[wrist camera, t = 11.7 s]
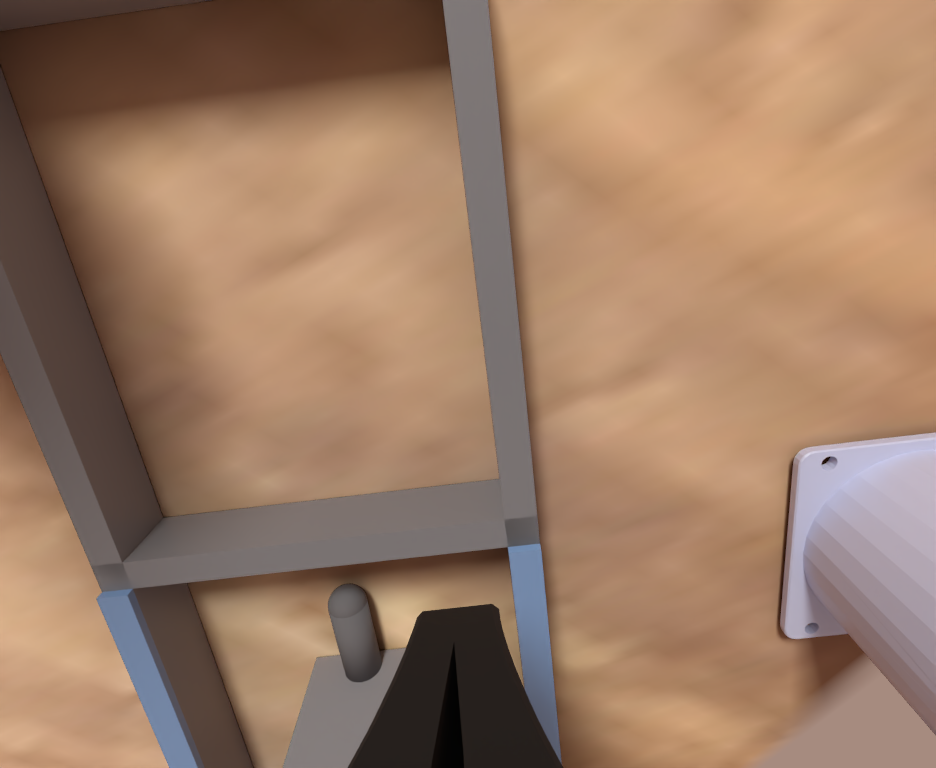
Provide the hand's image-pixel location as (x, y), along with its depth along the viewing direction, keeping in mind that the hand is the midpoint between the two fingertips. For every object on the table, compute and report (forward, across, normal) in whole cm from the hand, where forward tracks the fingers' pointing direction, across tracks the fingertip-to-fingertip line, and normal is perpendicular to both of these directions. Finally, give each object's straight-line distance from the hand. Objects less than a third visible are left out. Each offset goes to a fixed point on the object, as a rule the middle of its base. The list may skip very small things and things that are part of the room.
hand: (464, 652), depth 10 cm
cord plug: (+9, +5, +11) cm, 15 cm away
